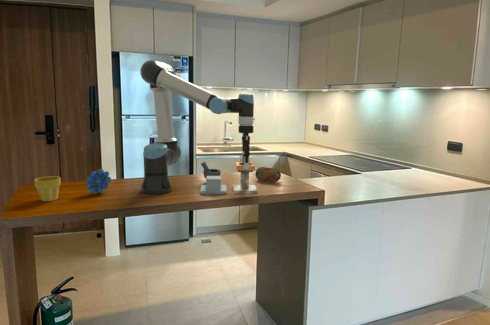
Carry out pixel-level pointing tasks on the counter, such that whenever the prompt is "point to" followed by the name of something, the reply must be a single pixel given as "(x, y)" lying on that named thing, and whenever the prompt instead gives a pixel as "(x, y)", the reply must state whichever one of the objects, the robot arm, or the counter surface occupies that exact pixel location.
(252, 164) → the link
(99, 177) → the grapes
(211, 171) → the mortar and pestle
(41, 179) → the plant pot
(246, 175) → the post stand
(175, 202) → the counter surface
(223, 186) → the block
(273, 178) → the tin
